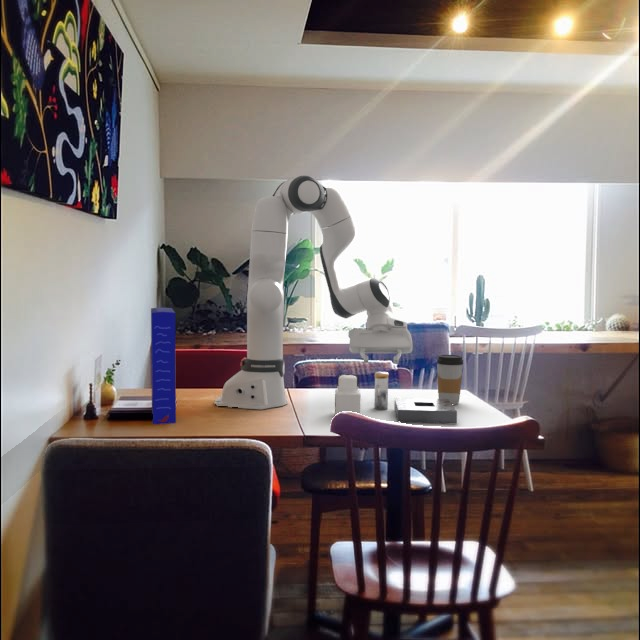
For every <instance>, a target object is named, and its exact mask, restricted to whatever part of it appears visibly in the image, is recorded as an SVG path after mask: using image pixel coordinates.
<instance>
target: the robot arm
mask: <svg viewBox="0 0 640 640" xmlns="http://www.w3.org/2000/svg"><path fill="white" fill-rule="evenodd" d="M304 213H305V214H306V213H310V214H312V215H313V217H315V220H316V221H317V224H318V226H319V229H320V231H321V235H322V243H321V245H320V246H319V255H320V262H321V265H322V269H323V273H324V277H325V280H326V284H327V288H328V292H329V298H330V303H331V309H332V311H333V313H334V314H336V315H337V316H338V317H341V318H342V319H348V318H349V319H350V318H351V317H353V316H355V315H357V314H360V313H363V312H366V315H367V319H366V327H353V328H351V329H350V330H348V333H347V334H348V338H349V348H348V350H349V352H350V353H352V354H359V355H360V357H361V358H362V359H363V364H368V363H369V355H366V354H396V355H394V356H393V364H399V361H400V358H401V356H402V354H403V355H404V354H405V355H407V354H411V353H412V352H413V346H414V345H413V339H412V334H411V332H410V331H409V329H408V323H407V321H403V320H399V319H396V318H394V317H393V314H394V313H393V312H394V310H393V309H394V308H393V306H394V305H393V300H392V295H391V293H390V290H389V289H388V287H387V286H386V285H385V283H384V282H383V281H381V280H379V279H377V278H376V277H370V278H366V279H363V280H361V281H358V282H357V283H353V284H350V285H347V286H344V285H343V284H342V280H341V279H342V278H341V276H340V271H339V267H338V263H337V262H338V259H339V257H340V256H341V254H342V253H344V252H345V251H346V250H347V249H348V248H349V247H350V246H351V245H352V244H353V242H355V239H356V236H357V234H358V227H357V223H356V220H355V218H354V216H353V213H352V211H351V209H350V207H349V205H348V202H346V200H345V198H344V196H343V195H342V193H341V192H340V191H339V189H337V188H336V187H333V186H328V187H327V186H326V187H325V186H324V185H322V184H321V183H320V182H319V180H318V179H316V178H314V177H313V176H309V175H299V176H295V177H291V178H288V179H287V180H286V181H283V182H282V183H280V184H279V185H278V187H277V188H276V190H275V191H274V193H273V194H272V195H266V196H263V197H261V198H259V199H258V201H257V202H256V204H255V208H254V213H253V216H252V222H251V224H252V225H251V233H250V234H251V235H250V251H249V266H248V267H249V268H248V281H247V282H248V284H247V294H246V295H247V296H246V305H247V306H246V322H247V323H246V325H247V326H246V335H247V336H246V346H247V347H246V356H247V357H243V358H242V359H241V361H240V369H241V370H239V371H238V372H236V373H235V374H234V375H233V376H231V377H230V378H229V379H228V380H226V382H225V383H224V385H223V388H222V392H221V396H219V397H217V398H215V400H214V405H215V404H216V405H217V406H216V407H218V406H228V407H227V408H232V407H238V408H237V409H246V410H247V409H249V410H266V409H270V408H271V409H272V408H278V407H283V406H285V405H287V404H288V399H287V395H286V389H285V382H284V376H285V368H286V367H285V358H284V355H283V354H284V353H283V352H284V351H283V350H284V347H283V346H284V339H283V338H284V316H285V292H284V280H285V269H286V259H287V250H288V249H287V248H288V235H289V234H288V231H289V223H290V219H291V216H292V215H298V214H304Z"/></svg>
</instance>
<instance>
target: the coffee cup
mask: <svg viewBox="0 0 640 640" xmlns="http://www.w3.org/2000/svg"><path fill="white" fill-rule="evenodd" d="M463 365H464V359H463V356H461V355H458V354H440V355H438V356H437V358H436V367H437V373H436V374H437V376H436V377H437V393H438V399H448V400H449V401H450V402H451V404H456V405H458V404H459V402H460V397H461V390H462V377H463V374H462V373H463V368H464V367H463ZM457 403H458V404H457Z"/></svg>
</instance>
